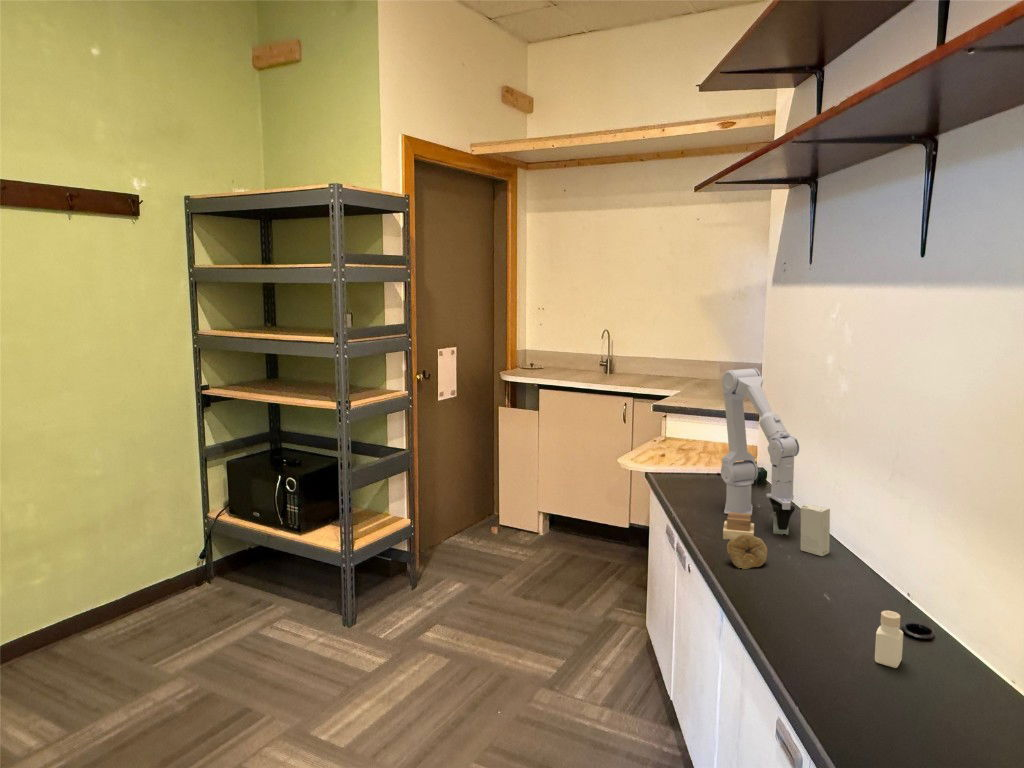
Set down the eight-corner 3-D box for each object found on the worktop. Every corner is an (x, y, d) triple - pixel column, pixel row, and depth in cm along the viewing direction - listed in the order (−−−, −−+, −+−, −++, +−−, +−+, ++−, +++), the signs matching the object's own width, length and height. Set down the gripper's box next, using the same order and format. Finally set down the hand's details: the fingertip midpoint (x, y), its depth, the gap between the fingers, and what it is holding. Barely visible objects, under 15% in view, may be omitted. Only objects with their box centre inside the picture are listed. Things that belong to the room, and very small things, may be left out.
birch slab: (724, 530, 205) (724, 520, 204) (753, 533, 202) (754, 523, 201) (722, 540, 197) (723, 530, 197) (753, 543, 194) (753, 533, 194)
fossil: (721, 540, 181) (756, 528, 182) (718, 547, 184) (752, 536, 186) (739, 572, 175) (775, 559, 177) (735, 579, 179) (770, 566, 181)
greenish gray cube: (773, 528, 204) (773, 511, 203) (788, 530, 202) (788, 513, 202) (773, 533, 200) (773, 516, 199) (788, 534, 199) (789, 517, 198)
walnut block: (728, 522, 203) (728, 512, 203) (750, 524, 201) (750, 513, 200) (727, 529, 197) (727, 518, 197) (749, 531, 195) (750, 520, 195)
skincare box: (829, 552, 186) (831, 508, 184) (821, 557, 183) (823, 512, 181) (807, 546, 190) (809, 502, 188) (798, 550, 187) (800, 506, 186)
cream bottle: (878, 654, 137) (881, 607, 135) (902, 660, 134) (905, 613, 133) (873, 663, 134) (876, 615, 132) (897, 670, 131) (900, 621, 130)
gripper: (763, 472, 207) (762, 517, 209) (771, 486, 193) (770, 534, 195) (789, 472, 205) (787, 517, 207) (799, 487, 191) (797, 535, 193)
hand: (780, 526), depth 201 cm, fingers closed on greenish gray cube, 4 cm apart
